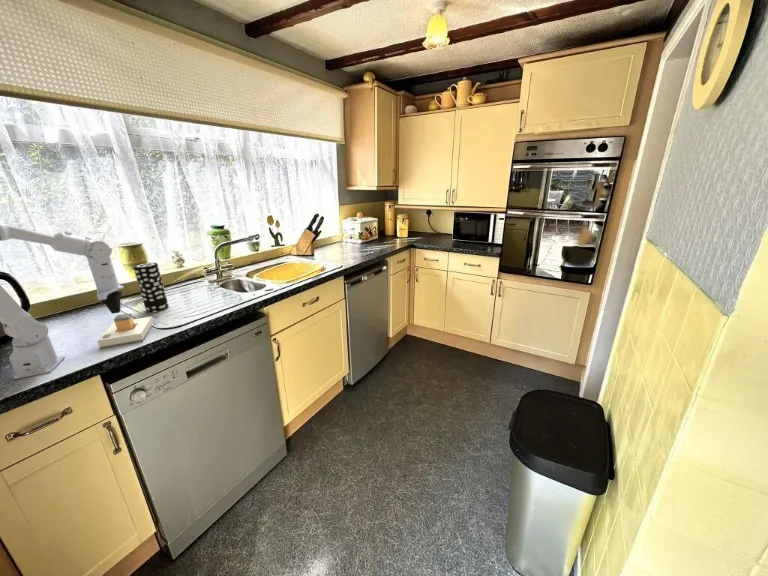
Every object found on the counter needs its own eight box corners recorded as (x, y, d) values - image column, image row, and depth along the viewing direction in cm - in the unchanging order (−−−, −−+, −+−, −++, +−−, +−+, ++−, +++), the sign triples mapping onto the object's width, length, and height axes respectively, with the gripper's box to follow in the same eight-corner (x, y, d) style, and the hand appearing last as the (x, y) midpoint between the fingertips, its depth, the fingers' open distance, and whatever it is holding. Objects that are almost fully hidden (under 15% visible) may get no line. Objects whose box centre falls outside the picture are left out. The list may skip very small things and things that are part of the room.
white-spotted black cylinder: (143, 313, 131) (130, 268, 125) (149, 306, 139) (137, 263, 132) (166, 310, 134) (154, 266, 128) (170, 304, 142) (159, 261, 135)
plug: (133, 334, 111) (128, 317, 109) (119, 337, 110) (113, 319, 107) (136, 330, 115) (131, 313, 112) (123, 332, 113) (117, 315, 111)
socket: (143, 341, 108) (140, 332, 107) (100, 348, 103) (96, 339, 102) (153, 323, 122) (151, 315, 121) (115, 329, 117) (113, 321, 116)
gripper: (111, 279, 100) (123, 317, 104) (125, 269, 112) (135, 303, 117) (83, 282, 97) (97, 321, 101) (101, 271, 109) (112, 307, 114)
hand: (116, 312), depth 109 cm, fingers closed
